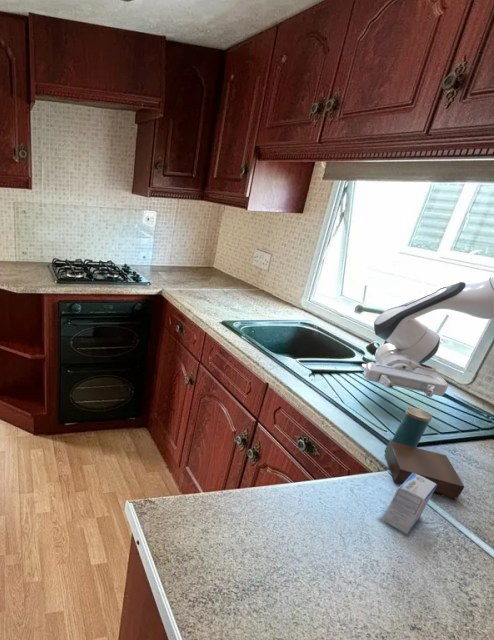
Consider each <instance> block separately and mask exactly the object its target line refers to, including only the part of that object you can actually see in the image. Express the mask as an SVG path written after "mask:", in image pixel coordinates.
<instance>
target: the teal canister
mask: <svg viewBox="0 0 494 640" xmlns="http://www.w3.org/2000/svg"><path fill="white" fill-rule="evenodd" d="M432 418H433V416H432V415H431V413H429V412H428V411H426V410H424V409H422V408H418V407H412V406H408V407H407V408H406V409H405V412H404V414H403V416H402V419H401V420H400V422H399V425H398V427H397V429H396V431H395V433H394V436H393V437H392V440H391V441H392V442H396V443H400V444H404V445H408V446H412V447H415V448H418V447H417V446H419V445H418V444H419V443H420V441H421V439H422V437H423V435H424V433H425V431H426V429H427V427H428V425H429V423H430V421H431V420H432Z"/></svg>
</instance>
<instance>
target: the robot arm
mask: <svg viewBox="0 0 494 640" xmlns="http://www.w3.org/2000/svg"><path fill="white" fill-rule="evenodd" d="M436 310H450V311H455V312H459V313H462V314H466V315H469V316H471V317H475V318H478V319H483V320H494V272H493V273H491V274H488V275H487V276H485V277H482V278H479V279H475V280H471V281H454V282H451V283H449V284H445V285H443V286H441V287H438V288H436V289H433V290H432V291H429V292H427V293H425V294H423V295H421V296H418V297H417V298H414V299H411V300H410V301H407V302H406V303H404V304H400V305H398V306H394V307H392V308H389V309H386V310H384V311H383V312H382V313H380V314H379V315H378V316H377V317H376V319H375V320H374V322H373V329H374V334H375V336H377V337H378V338H380V339H382V340H384V341H385V342H387V343H383V344H381V345H380V346H379V347H377V348H376V350H375V354H374V361H375V362H373V361H369V362H367V363H362V364H361V365H360V366H361V369H362V370H363V375H362V376H363V378H364V380H366V381H369V382H373V383H378V384H381V385H384V386H385V388H388V389H393V388H394V387H396V388H400V389H405V390H411V391H416V392H420V393H423V395H424V396H425V397H429V398H432V397H433V395H434V396H437V397H442V396H444V395H445V393H446V392H447V390H448V387H449V384H448V382H447V381H446V379H445V378H444V377H443V376H442V375H440V374H439V373H437V369H436V368H435V367H433V366H430V365H427V364H424V363H427V361H429V360H430V359H431V358H433V357H434V356H435V355H436V354H437V352H438V350H439V348H440V343H441V337H440V335H439V334H437V332H435V331H434V330H433V329H431V328H429V327H428V326H426V325H425V324H423V323H421V322H420V321H419V320H418V319H416V318H419V317H421V316H424V315H426V314H429V313H432V312H433V311H436Z"/></svg>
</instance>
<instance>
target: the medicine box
mask: <svg viewBox="0 0 494 640" xmlns="http://www.w3.org/2000/svg"><path fill="white" fill-rule="evenodd" d="M436 487H437V484H436V483H434V482H432V481H430V480H428V479H426V478H424V477H422V476H420V475H418V474H415V473H412V474H411V475H410V476H409V477H408V479H407V480H406V481H405V482H404V483H403V484H400V486H399V487H398V488H397V489H396V492H395V493H394V496H393V498H392V500H391V501H390V503H389V506H388V507H387V510H386V512H385V513H384V516H383V518H382V521H384V522H385V523H387V524H388V525H390V526H392V527H393V528H396V529H397V530H399V531H401V532H402V533H404V534H406V535H407V534H408V533H410V531H411V530H412V528H413V527H414V525H415V524H416V522H417V521H418V520H419V518H421V516H422V513H423V512H424V510H425V509H426V507H427V505H428V503H429V501H430V500H431V497H432V495H434V493H435V492H434V490H435V489H436Z"/></svg>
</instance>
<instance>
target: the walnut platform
mask: <svg viewBox="0 0 494 640" xmlns="http://www.w3.org/2000/svg"><path fill="white" fill-rule="evenodd" d="M384 458H385V461H386V463H387V466H388V469H389V472H390V475H391V478H392V480H393V483H395V484H398V485H402V484H403V483H404V482H405V481H406V480H407V479H408V477H409V476H410V475H411V474H412V473H415V474H418V475H420V476H422V477H424V478H426V479H428V480H430V481H432V482H434V483H436V484H437V487H436V489H435V490H434V492H433V493H438V494H440V495H441V497H445V498H449V499H452V500H455V499H459V497H460V495H461V494H462V492H463V490H464V488H465V485H464V483H463V481H462V480H461V478H460V476H459V475H458V473H457V471H456V470H455V468H454V466H453V464H452V463H451V461H450V460H449V458H448V456H447V454H442V453H439V452H435V451H430V450H427V449H423V448H419V447H416V448H415V447H412V446H408V445H404V444H400V443H396V442H392V440H388V443H387V445H386V446H385V449H384Z"/></svg>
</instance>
